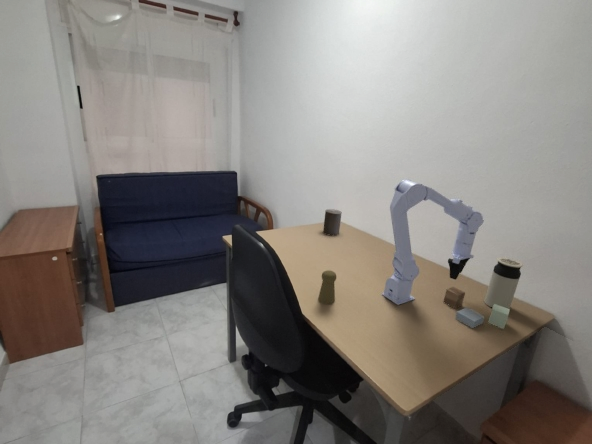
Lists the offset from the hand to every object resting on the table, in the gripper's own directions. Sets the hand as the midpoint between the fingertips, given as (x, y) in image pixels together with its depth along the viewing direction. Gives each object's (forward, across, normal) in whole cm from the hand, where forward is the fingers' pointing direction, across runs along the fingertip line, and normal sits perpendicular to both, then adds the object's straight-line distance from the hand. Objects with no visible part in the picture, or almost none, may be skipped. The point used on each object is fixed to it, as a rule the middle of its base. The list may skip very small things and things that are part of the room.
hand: (455, 275), depth 110 cm
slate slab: (+10, -12, -9) cm, 18 cm away
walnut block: (+10, -4, -2) cm, 11 cm away
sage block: (+10, -6, -16) cm, 20 cm away
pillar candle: (+10, +26, +73) cm, 78 cm away
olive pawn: (+10, -36, +33) cm, 50 cm away
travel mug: (+10, +7, -14) cm, 19 cm away
